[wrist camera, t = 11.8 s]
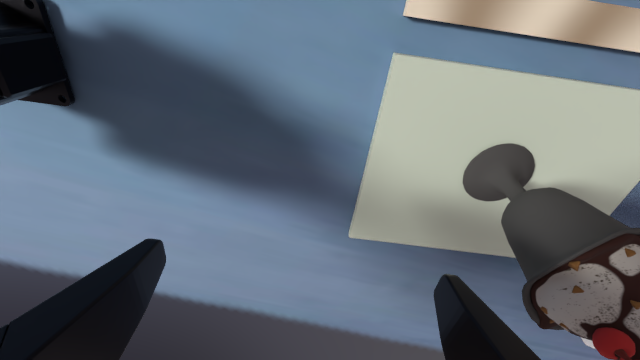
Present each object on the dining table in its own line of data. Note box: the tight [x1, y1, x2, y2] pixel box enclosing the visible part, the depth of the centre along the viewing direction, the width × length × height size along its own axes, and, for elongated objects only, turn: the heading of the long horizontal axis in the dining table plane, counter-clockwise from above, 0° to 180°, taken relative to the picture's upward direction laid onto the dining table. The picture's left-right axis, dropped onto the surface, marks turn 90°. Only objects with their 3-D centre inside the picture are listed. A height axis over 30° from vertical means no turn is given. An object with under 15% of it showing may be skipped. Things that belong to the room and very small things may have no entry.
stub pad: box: [349, 53, 640, 258], centre depth 22 cm, size 20×15×1 cm
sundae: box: [463, 143, 640, 360], centre depth 15 cm, size 7×7×15 cm
